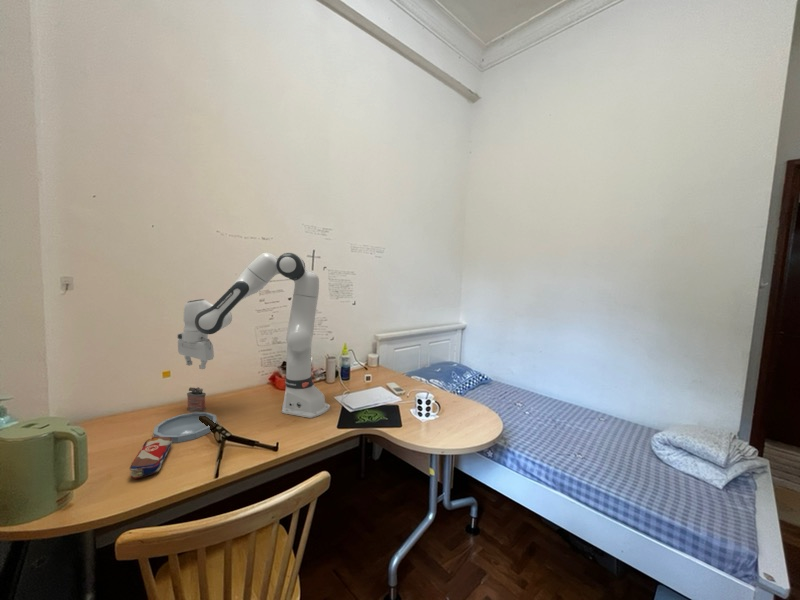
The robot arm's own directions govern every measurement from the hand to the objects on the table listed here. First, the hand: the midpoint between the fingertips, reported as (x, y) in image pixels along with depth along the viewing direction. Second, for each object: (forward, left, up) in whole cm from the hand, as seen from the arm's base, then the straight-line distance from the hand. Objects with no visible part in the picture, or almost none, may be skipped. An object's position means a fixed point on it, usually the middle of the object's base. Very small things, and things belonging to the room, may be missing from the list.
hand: (195, 367), depth 135 cm
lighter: (0, 0, -20) cm, 20 cm away
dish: (-14, +12, -20) cm, 27 cm away
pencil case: (-27, +29, -20) cm, 44 cm away
